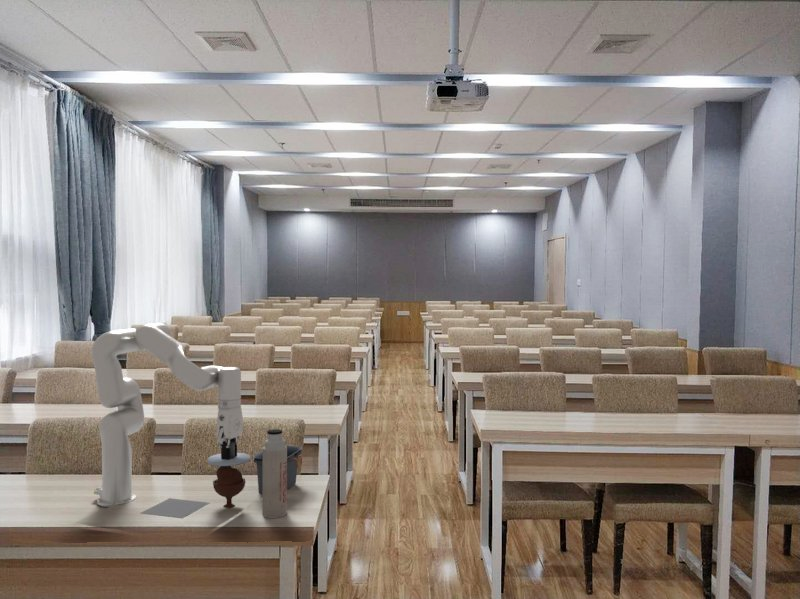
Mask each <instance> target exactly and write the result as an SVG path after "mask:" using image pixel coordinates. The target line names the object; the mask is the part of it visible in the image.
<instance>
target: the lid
mask: <svg viewBox="0 0 800 599" xmlns="http://www.w3.org/2000/svg"><path fill="white" fill-rule="evenodd" d="M229 448H230V459H229V460H226V459H221V453H216V454H213V455H211V456H208V458H207V464H209V465H211V466H216V467H220V466H231V467H234V466H241V465H245V464H247V463H249V462H250V461H251V455H250V454H248V453H245V452H244V453H243V452H237V456H236V457H235V442H230V444H229Z"/></svg>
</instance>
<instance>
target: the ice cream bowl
mask: <svg viewBox="0 0 800 599" xmlns="http://www.w3.org/2000/svg"><path fill="white" fill-rule="evenodd" d="M216 477H217V479H214V480H213V481H212V485H213V489H214V492H215V493H217V495H219V496H221V497H224V498H225V500H226V503H225V504H224V505H223V508H225V509H231V508H235V507H236V505H235V504H234V503H232V502H233V500H232V499H233V497H236V496H238V495H239V494H240V493H241V492H243V490H244V488H245V486H246V478H244V477H243V475H242V472H241V471H240V470H239V469H238V468H235V467H233V466H218V469H216Z"/></svg>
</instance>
